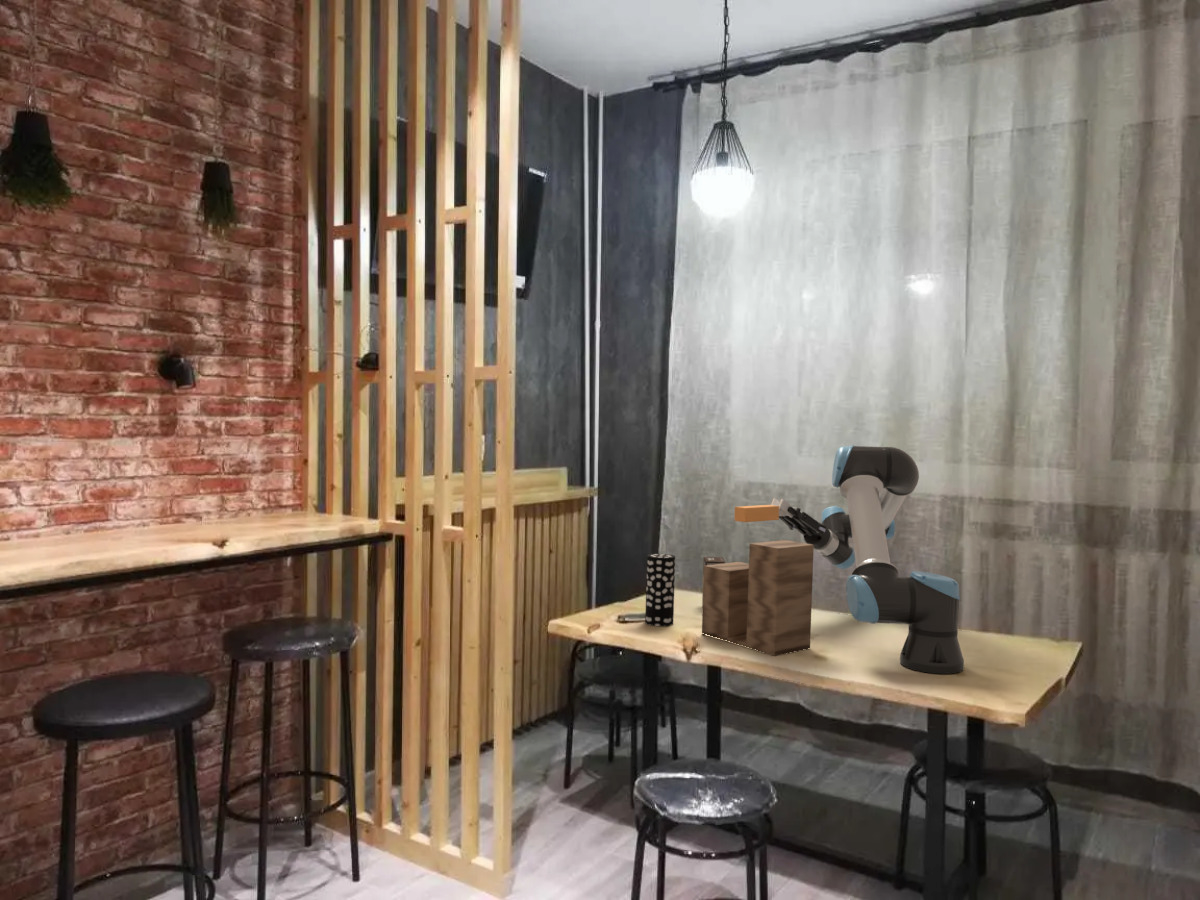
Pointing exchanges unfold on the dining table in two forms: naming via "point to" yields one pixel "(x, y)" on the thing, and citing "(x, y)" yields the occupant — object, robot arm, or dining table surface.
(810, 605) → the stepped wooden block
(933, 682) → the dining table surface
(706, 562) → the coffee box
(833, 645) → the dining table surface
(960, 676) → the dining table surface
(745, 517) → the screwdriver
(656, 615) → the white-spotted black cylinder
